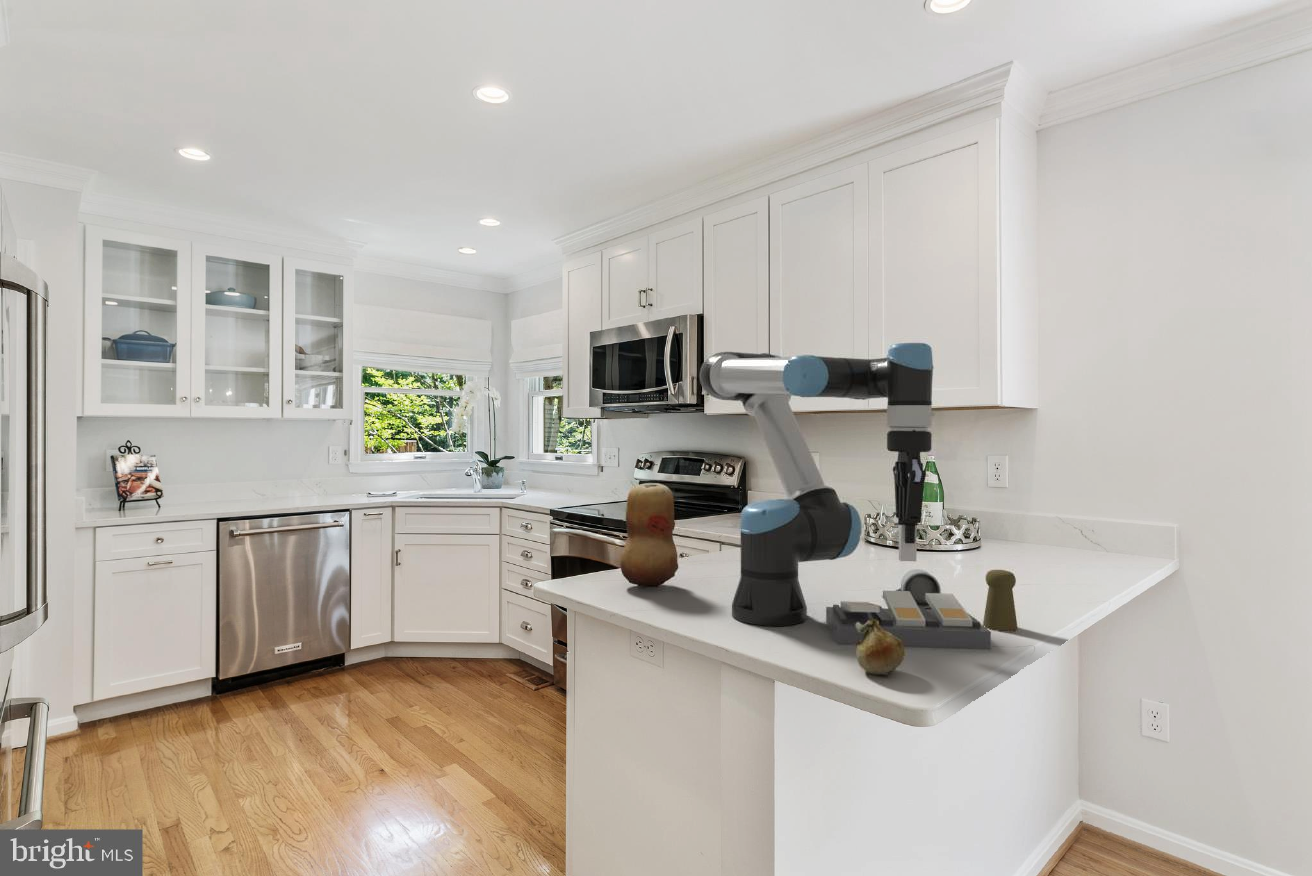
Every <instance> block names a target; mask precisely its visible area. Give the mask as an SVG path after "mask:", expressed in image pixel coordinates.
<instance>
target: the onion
mask: <svg viewBox="0 0 1312 876" xmlns="http://www.w3.org/2000/svg"><path fill="white" fill-rule="evenodd" d="M856 628H857V631H859V633H861V634H864V637H863V638H861V640H858V642H857V645H856V647H855V651H856V652H855V658H856V660H857V663H858V665H859V667H861V669H862V670H864V671H865V672H866V673H869V674H871V675H876V676H877V675H879V676H882V675H883V676H887V675H889V674H891V673H892V672H893V671H895V670H896V669H897V668H899V666H900V665H901V664H902V663H903V661H904V658H905V655H906V653H905V652H906V651H905V646H904V645H903V643H902V641H900V640H899V638H897V637H895V636H893V635H892V634H891V633H889V632H887V631H884V630H883V629H882V628H881V627H880V626H879V621H877V620H875V619H873V620H872V621H870V620H869V621H868V622H867V623H866V624H865V625H862V624H860V623H859V622H857V623H856Z"/></svg>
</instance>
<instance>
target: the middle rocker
mask: <svg viewBox="0 0 1312 876" xmlns="http://www.w3.org/2000/svg"><path fill="white" fill-rule="evenodd" d="M882 598H883V600H884V602H885V605H886V607H887V609H889V611H890V613H891V615H892V618H893V620H894V622H895V624H896V626H922V627H925V623H926V620H925V618H924V616H923V615H922V613H921V611H920V609H919V607H918V606H917V604H916V602H915V600H914V598H913V597H912V595H911V593H910V591H895V590H882Z"/></svg>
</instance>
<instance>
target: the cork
mask: <svg viewBox="0 0 1312 876" xmlns="http://www.w3.org/2000/svg"><path fill="white" fill-rule="evenodd" d="M1016 581H1017V580H1016V576H1015V574H1014V573H1013V572H1011V571H1009V570H1005V569H991V570H989V571H987V573H986V574H985V582H986V585H987V586H988V589H987V590H988V591H987V594H986V602H985V608H984V615H983V620H982V621H983V622H982V626H985V627H986V629H988V628H989V629H988V630H991V629H992V630H991V631H995V630H999V631H998V632H1002V631H1010V632H1009V633H1012V632H1011V631H1013V632H1016V631H1015V630H1017V631H1018V621H1017V614H1016V605H1015V598H1014V591H1013V588H1014V587H1015V586H1016V583H1017V582H1016Z"/></svg>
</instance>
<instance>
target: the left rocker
mask: <svg viewBox="0 0 1312 876" xmlns="http://www.w3.org/2000/svg"><path fill="white" fill-rule="evenodd" d="M839 603H840V607H841V608H843V609H846V610H848V611H851V612H880V610H879V606H880V605H879V604H875V603H871V602H868V601H846V600H845V601H844V600H843V601H840V602H839Z"/></svg>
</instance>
